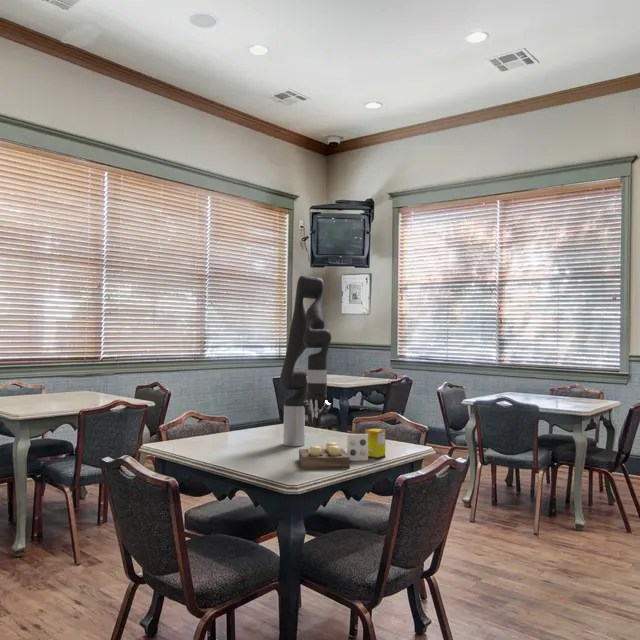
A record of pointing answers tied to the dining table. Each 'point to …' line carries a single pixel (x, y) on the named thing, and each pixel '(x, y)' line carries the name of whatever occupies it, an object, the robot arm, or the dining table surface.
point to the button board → (323, 460)
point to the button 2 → (315, 451)
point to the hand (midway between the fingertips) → (316, 427)
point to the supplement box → (376, 443)
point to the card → (357, 446)
